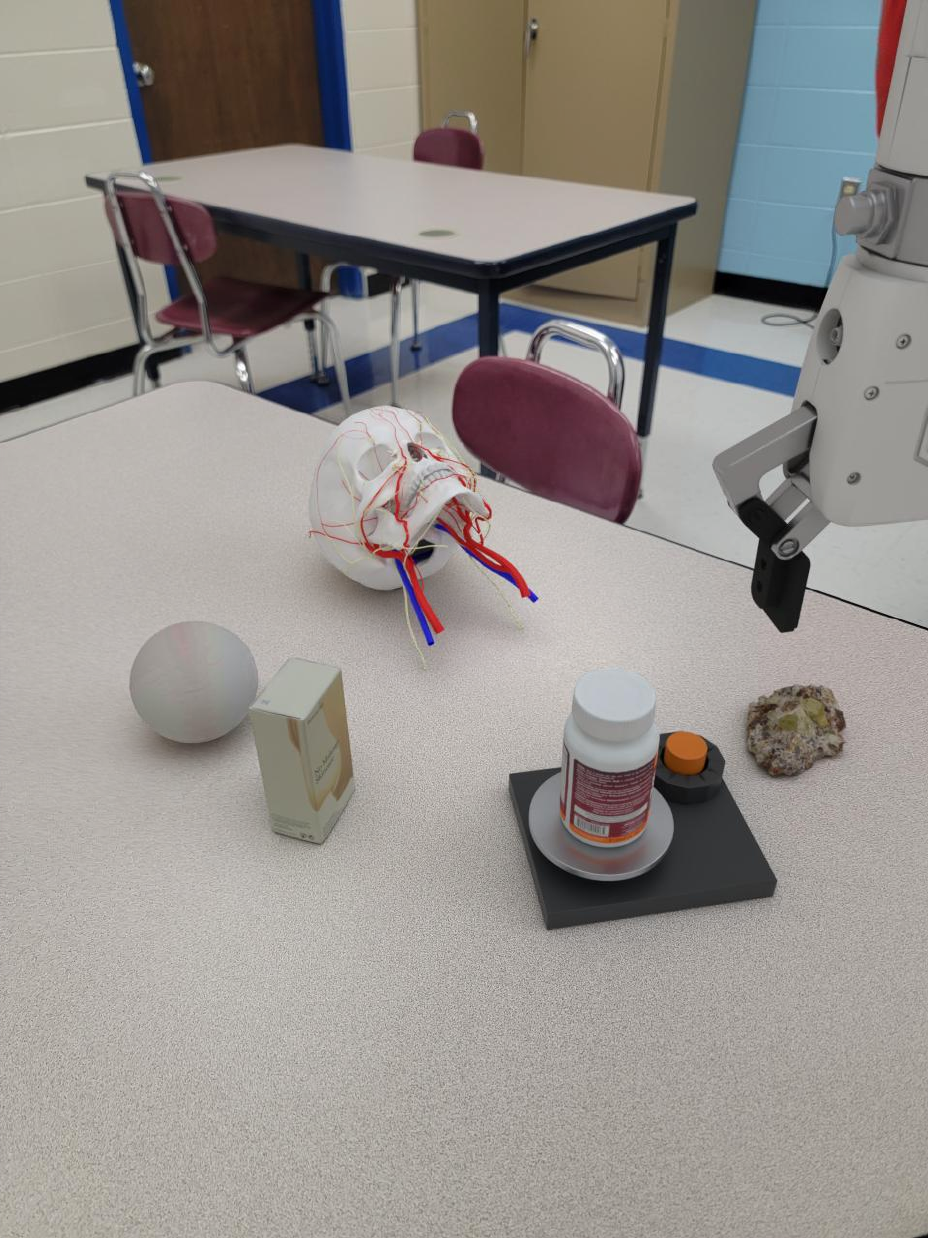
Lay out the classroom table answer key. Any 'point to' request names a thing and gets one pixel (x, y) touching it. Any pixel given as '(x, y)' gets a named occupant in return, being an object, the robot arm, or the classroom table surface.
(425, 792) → the classroom table surface
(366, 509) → the anatomical skull model
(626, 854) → the weighing pan
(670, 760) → the tare button
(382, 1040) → the classroom table surface
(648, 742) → the pill bottle
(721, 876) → the scale
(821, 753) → the mineral rock
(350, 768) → the cosmetic box
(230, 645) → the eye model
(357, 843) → the classroom table surface
